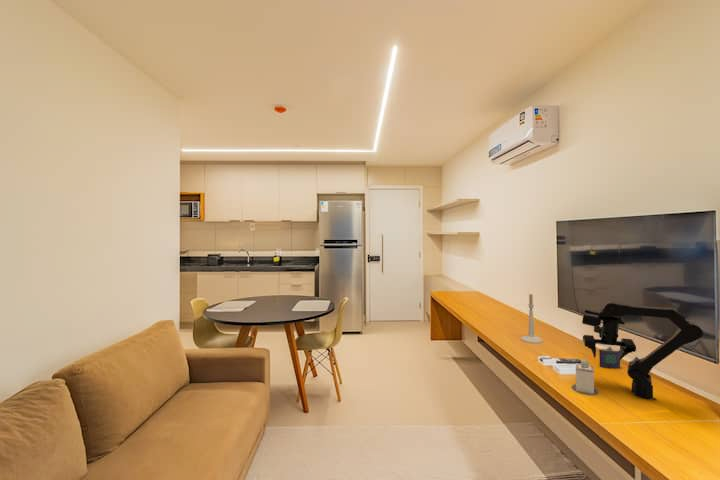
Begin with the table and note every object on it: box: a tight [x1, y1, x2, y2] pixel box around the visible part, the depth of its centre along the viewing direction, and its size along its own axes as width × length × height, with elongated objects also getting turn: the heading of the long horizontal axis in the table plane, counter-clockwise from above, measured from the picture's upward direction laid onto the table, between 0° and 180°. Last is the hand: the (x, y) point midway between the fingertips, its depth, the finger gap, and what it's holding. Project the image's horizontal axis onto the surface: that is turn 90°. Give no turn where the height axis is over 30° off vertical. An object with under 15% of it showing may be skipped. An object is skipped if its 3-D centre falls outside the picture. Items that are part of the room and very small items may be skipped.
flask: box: [598, 345, 621, 369], centre depth 175 cm, size 9×3×11 cm, turn 78°
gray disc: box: [570, 384, 600, 396], centre depth 150 cm, size 10×10×1 cm
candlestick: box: [520, 294, 544, 344], centre depth 220 cm, size 13×13×30 cm
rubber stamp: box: [575, 358, 595, 394], centre depth 150 cm, size 6×6×13 cm
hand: (606, 358), depth 156 cm, fingers open, 9 cm apart
